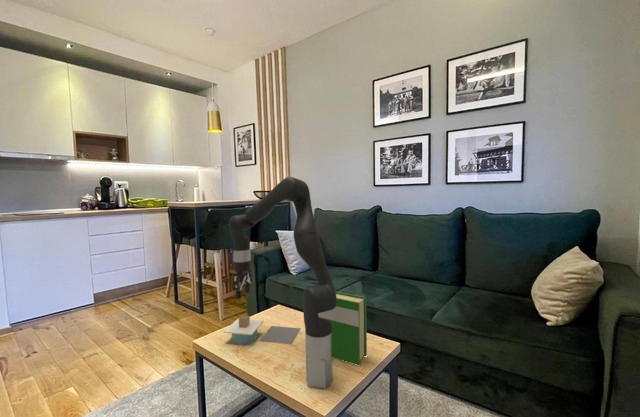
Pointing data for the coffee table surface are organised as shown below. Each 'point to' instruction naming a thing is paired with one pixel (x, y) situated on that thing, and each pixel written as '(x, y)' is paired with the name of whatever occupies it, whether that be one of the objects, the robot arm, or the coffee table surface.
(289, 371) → the coffee table surface
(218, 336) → the coffee table surface
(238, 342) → the teal pet bowl
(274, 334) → the rubber mat
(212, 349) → the coffee table surface
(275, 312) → the coffee table surface
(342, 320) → the hardback book
